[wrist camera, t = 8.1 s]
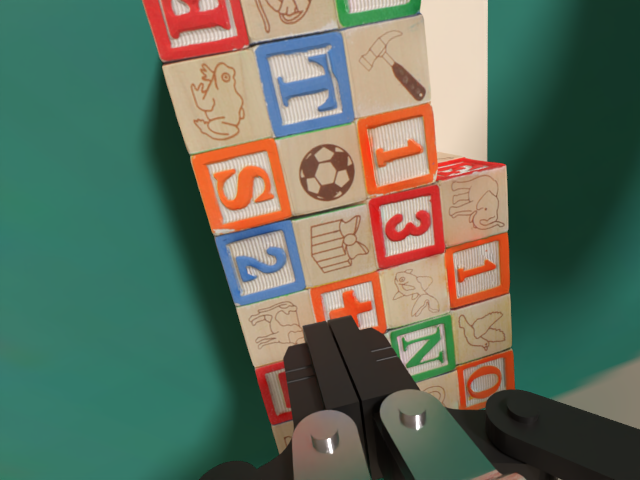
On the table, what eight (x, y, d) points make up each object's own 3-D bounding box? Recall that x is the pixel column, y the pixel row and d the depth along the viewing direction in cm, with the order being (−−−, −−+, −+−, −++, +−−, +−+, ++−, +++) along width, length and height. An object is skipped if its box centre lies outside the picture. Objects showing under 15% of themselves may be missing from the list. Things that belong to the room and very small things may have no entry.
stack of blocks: (116, -53, 11) (498, -113, 13) (160, 8, 17) (416, -37, 18) (286, 478, 18) (520, 399, 19) (275, 391, 24) (455, 335, 25)
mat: (483, -23, 20) (487, -26, 19) (482, 367, 27) (486, 370, 27) (206, 4, 18) (205, 1, 17) (289, 416, 25) (290, 421, 25)
